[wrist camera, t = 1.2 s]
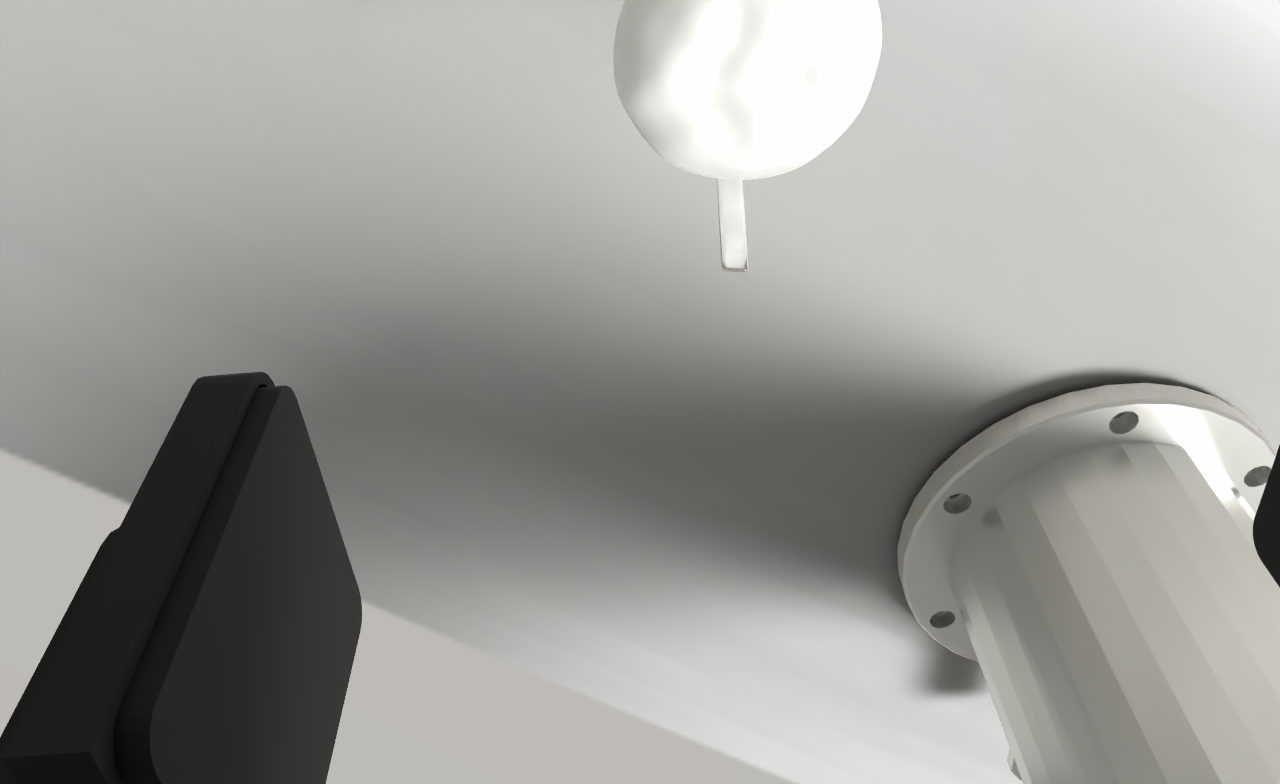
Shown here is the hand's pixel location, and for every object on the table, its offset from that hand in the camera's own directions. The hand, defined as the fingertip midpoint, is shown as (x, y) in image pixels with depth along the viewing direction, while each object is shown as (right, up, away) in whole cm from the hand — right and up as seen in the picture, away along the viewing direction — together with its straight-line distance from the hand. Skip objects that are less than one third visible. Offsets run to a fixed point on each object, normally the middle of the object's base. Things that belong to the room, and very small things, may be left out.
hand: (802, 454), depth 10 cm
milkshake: (0, +11, +15) cm, 19 cm away
